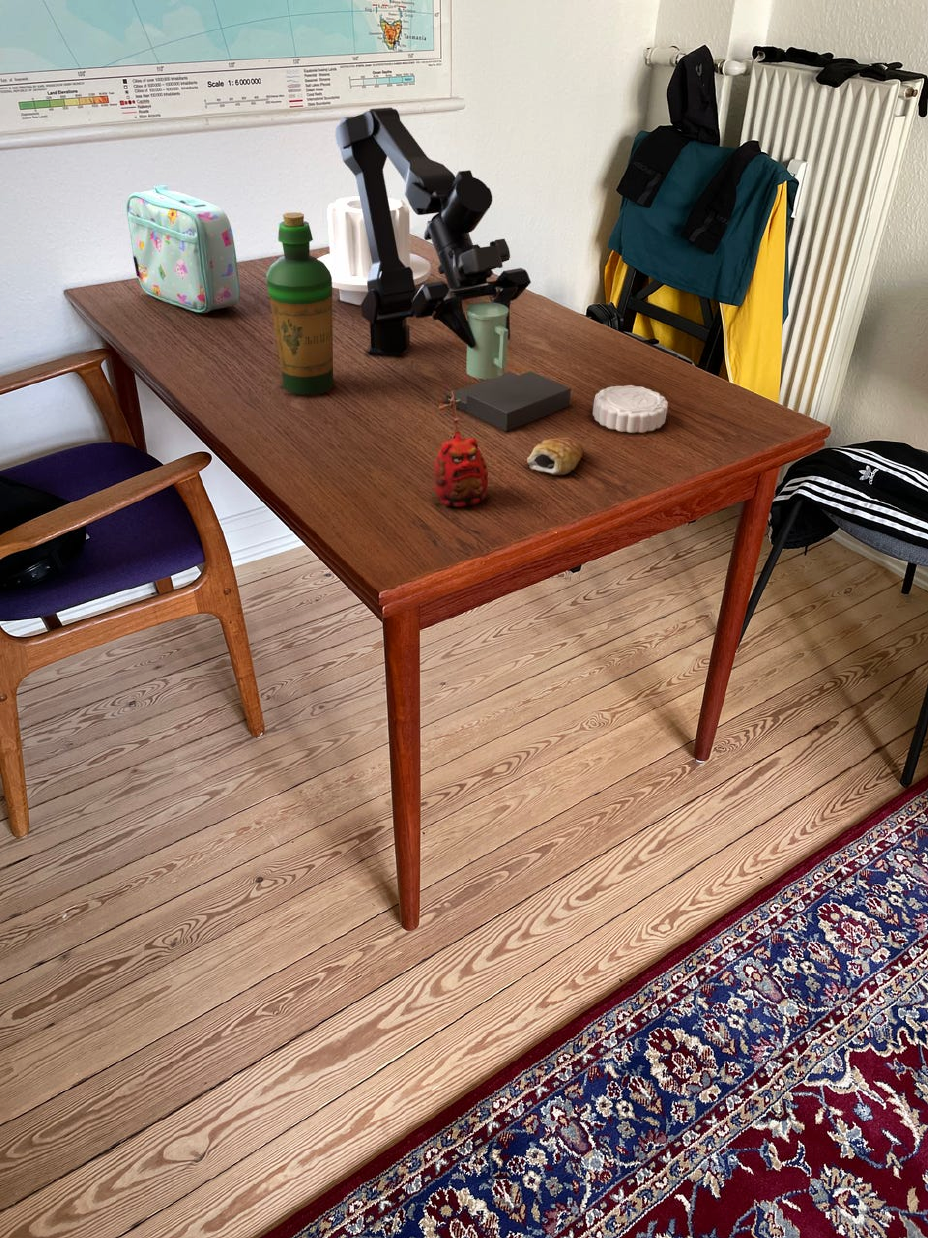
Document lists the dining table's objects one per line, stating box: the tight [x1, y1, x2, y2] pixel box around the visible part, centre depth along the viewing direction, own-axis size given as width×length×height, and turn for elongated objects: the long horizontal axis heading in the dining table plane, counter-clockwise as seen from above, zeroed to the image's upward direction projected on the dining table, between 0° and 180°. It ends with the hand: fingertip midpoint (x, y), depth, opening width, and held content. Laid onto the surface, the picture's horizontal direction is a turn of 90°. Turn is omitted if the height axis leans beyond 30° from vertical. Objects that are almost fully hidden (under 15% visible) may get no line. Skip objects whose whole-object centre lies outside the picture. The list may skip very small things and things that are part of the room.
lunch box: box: [126, 184, 241, 314], centre depth 183 cm, size 27×10×21 cm, turn 49°
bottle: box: [265, 211, 334, 396], centre depth 148 cm, size 11×11×28 cm
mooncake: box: [592, 384, 669, 434], centre depth 148 cm, size 12×12×4 cm
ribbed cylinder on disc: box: [317, 195, 432, 307], centre depth 188 cm, size 25×25×19 cm
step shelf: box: [445, 370, 572, 432], centre depth 152 cm, size 14×15×3 cm
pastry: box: [526, 437, 584, 476], centre depth 135 cm, size 9×7×4 cm
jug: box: [465, 301, 509, 380], centre depth 140 cm, size 9×6×10 cm
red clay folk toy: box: [434, 390, 489, 508], centre depth 123 cm, size 8×7×15 cm
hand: (490, 343), depth 140 cm, fingers closed on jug, 6 cm apart
